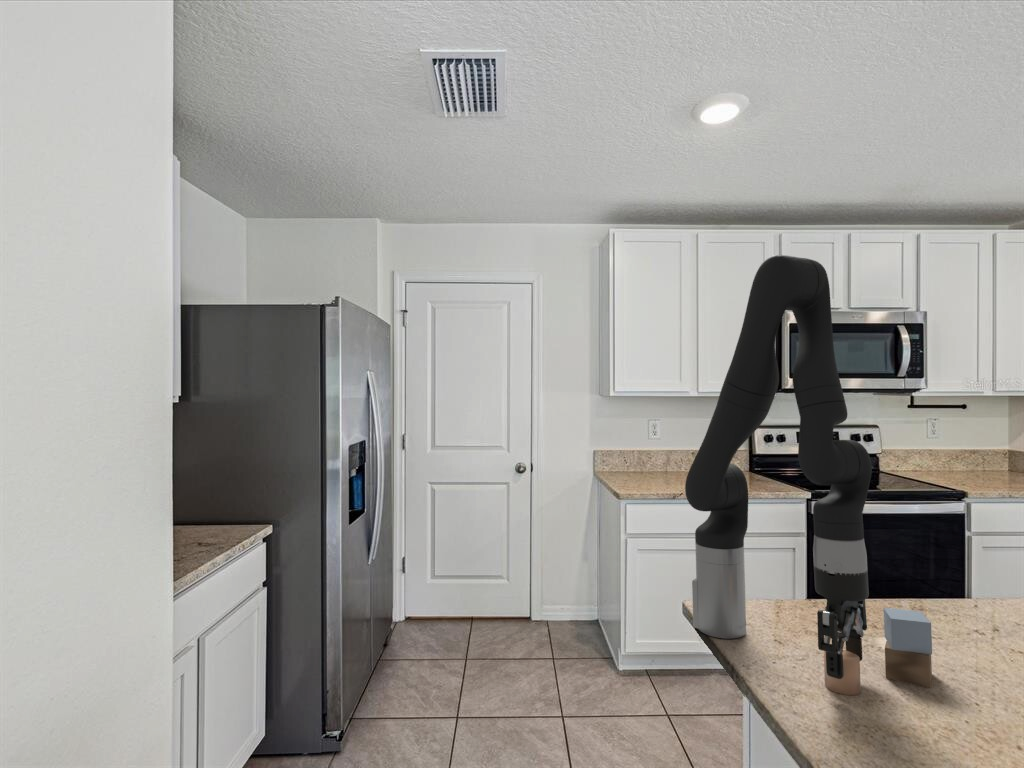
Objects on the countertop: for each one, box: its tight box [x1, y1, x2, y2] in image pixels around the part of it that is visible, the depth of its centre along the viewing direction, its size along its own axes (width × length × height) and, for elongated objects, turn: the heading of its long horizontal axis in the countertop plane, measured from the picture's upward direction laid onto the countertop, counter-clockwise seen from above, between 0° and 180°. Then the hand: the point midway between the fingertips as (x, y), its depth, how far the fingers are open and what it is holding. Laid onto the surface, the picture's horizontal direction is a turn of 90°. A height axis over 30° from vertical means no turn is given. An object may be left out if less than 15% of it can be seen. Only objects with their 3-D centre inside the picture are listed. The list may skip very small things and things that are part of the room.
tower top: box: [883, 607, 933, 655], centre depth 97 cm, size 6×6×5 cm
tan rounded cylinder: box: [823, 649, 862, 696], centre depth 93 cm, size 5×5×5 cm
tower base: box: [884, 640, 933, 689], centre depth 96 cm, size 6×6×5 cm
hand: (845, 668), depth 93 cm, fingers open, 8 cm apart
